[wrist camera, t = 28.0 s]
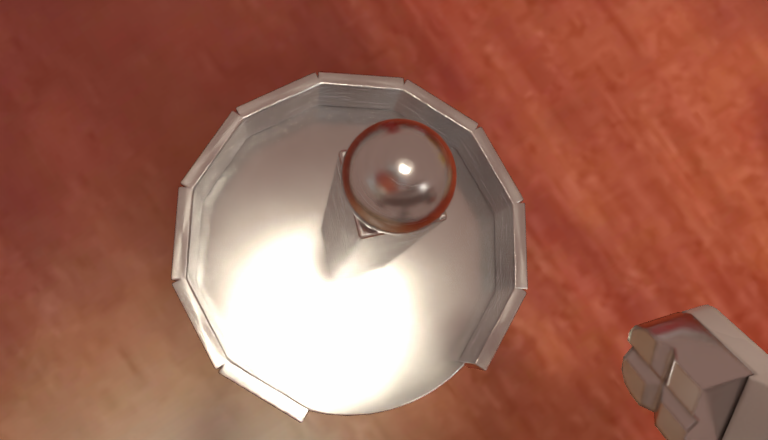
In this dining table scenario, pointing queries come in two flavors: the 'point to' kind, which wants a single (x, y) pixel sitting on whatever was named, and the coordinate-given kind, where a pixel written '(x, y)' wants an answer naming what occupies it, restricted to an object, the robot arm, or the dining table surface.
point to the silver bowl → (348, 245)
